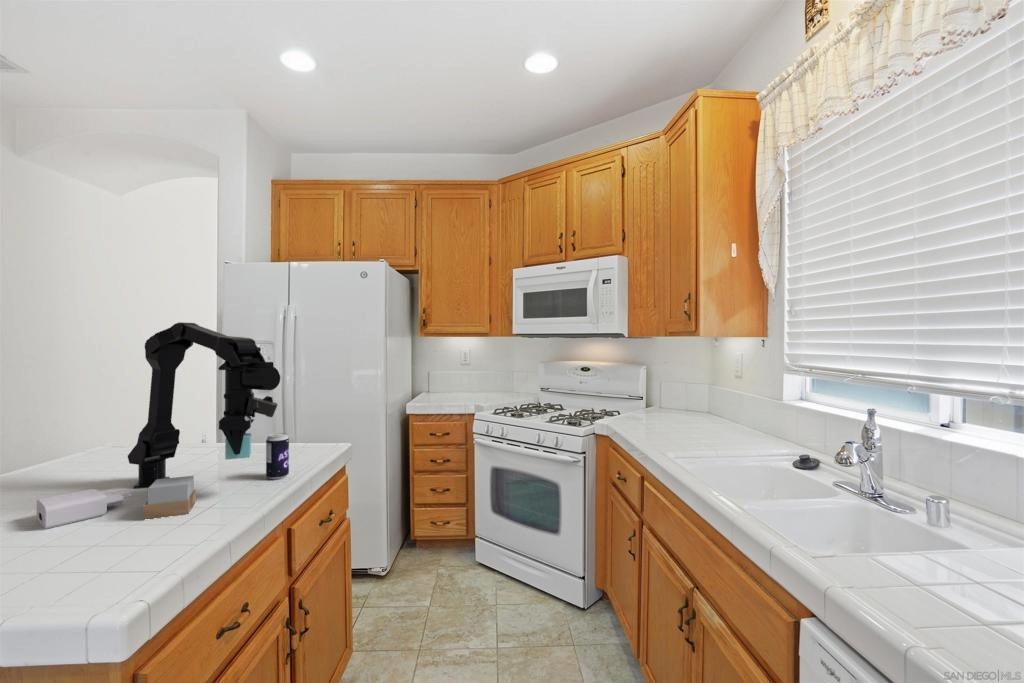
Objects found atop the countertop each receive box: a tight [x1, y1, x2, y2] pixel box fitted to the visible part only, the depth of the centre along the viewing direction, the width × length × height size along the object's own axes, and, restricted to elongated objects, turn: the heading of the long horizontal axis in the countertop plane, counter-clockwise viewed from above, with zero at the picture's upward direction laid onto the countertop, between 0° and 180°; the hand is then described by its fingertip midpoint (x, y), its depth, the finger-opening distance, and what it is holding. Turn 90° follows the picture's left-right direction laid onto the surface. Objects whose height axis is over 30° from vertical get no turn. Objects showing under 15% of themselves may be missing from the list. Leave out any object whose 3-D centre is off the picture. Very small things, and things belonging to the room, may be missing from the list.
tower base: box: [142, 489, 197, 521], centre depth 102 cm, size 8×8×4 cm
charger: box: [36, 488, 134, 530], centre depth 101 cm, size 5×9×15 cm
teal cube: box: [224, 432, 252, 461], centre depth 112 cm, size 5×5×5 cm
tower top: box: [147, 475, 195, 505], centre depth 102 cm, size 7×7×4 cm
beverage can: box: [265, 432, 290, 480], centre depth 127 cm, size 6×6×12 cm
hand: (238, 451), depth 112 cm, fingers closed on teal cube, 5 cm apart
